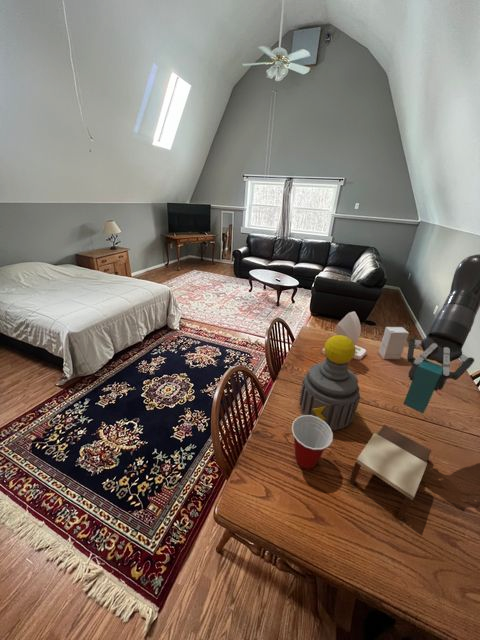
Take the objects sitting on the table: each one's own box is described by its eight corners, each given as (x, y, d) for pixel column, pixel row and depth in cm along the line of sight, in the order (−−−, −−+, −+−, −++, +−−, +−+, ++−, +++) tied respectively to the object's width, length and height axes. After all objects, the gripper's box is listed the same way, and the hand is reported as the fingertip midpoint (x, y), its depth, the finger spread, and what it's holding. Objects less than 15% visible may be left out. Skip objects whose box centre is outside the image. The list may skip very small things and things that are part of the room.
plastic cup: (287, 475, 72) (292, 443, 67) (286, 442, 82) (291, 412, 77) (328, 481, 71) (337, 450, 66) (322, 447, 81) (329, 417, 76)
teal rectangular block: (427, 405, 70) (444, 366, 65) (423, 413, 67) (440, 374, 62) (408, 396, 73) (423, 358, 67) (403, 404, 70) (418, 365, 64)
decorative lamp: (346, 442, 83) (370, 360, 70) (289, 415, 92) (302, 339, 79) (358, 406, 97) (380, 334, 85) (308, 386, 106) (321, 318, 94)
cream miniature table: (427, 458, 79) (438, 436, 75) (402, 520, 63) (414, 497, 59) (381, 432, 87) (389, 411, 83) (349, 482, 71) (356, 458, 67)
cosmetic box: (394, 353, 133) (403, 326, 126) (400, 360, 127) (410, 332, 121) (377, 352, 133) (385, 325, 126) (383, 359, 127) (391, 331, 121)
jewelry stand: (338, 340, 143) (348, 296, 132) (368, 351, 133) (381, 305, 123) (315, 358, 126) (324, 309, 115) (347, 372, 116) (360, 320, 106)
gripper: (420, 310, 70) (391, 367, 67) (491, 329, 61) (461, 396, 58) (419, 323, 75) (392, 375, 72) (484, 342, 66) (456, 403, 63)
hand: (423, 384), depth 65 cm, fingers closed on teal rectangular block, 4 cm apart
